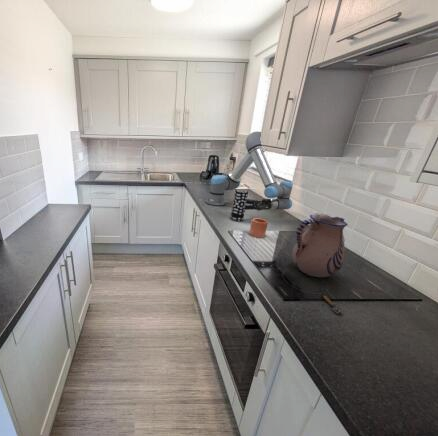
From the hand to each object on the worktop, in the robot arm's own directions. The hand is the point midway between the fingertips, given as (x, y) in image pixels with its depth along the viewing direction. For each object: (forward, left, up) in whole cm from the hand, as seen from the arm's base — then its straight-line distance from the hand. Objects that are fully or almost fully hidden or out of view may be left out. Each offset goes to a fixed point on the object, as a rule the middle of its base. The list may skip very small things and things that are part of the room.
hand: (239, 204), depth 156 cm
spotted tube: (0, 0, -11) cm, 11 cm away
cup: (+20, +16, -11) cm, 28 cm away
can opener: (+71, +47, -11) cm, 86 cm away
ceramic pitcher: (+50, +41, -11) cm, 66 cm away
